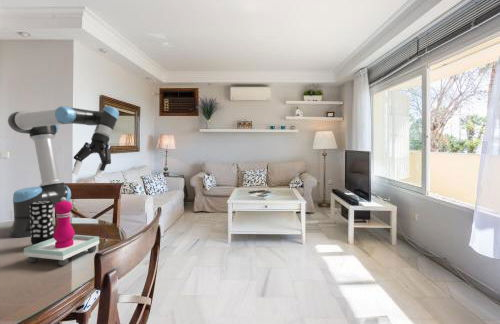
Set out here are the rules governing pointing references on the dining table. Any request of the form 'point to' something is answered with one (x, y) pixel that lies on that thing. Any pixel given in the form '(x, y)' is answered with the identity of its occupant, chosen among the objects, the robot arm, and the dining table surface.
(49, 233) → the white-spotted black cylinder
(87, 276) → the dining table surface
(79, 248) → the rolling base
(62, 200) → the pepper mill
